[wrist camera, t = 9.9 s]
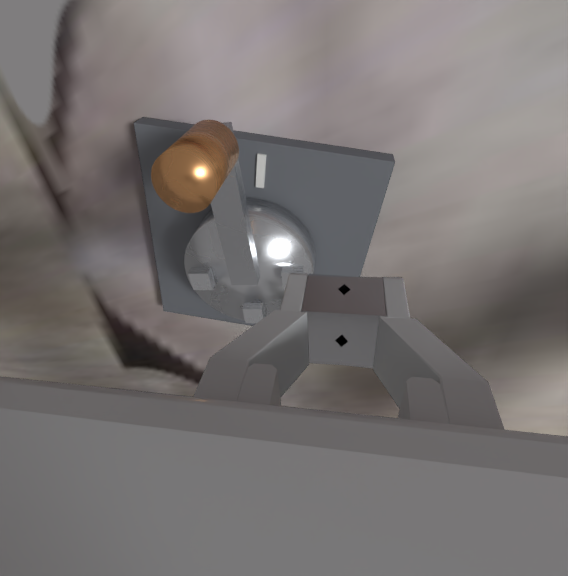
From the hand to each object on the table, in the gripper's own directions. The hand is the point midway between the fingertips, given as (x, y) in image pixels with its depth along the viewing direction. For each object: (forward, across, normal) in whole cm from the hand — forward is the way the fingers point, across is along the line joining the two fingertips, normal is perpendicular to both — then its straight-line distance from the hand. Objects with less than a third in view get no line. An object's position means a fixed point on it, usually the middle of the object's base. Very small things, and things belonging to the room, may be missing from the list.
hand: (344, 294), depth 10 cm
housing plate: (+18, +8, +9) cm, 22 cm away
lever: (+16, +8, +6) cm, 19 cm away
